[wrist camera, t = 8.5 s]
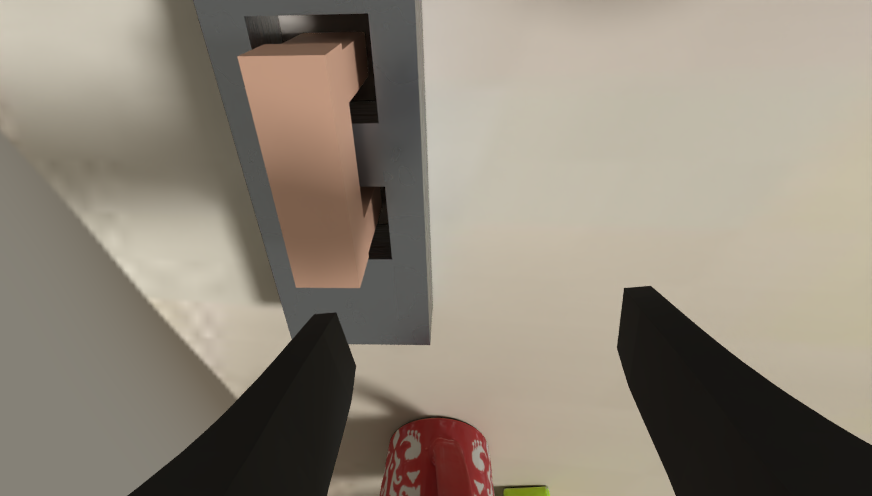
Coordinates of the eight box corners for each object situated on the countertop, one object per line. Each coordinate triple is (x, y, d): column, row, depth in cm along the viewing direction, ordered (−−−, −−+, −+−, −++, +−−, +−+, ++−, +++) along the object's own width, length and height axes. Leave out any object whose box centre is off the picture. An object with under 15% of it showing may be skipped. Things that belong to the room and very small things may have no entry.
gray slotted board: (414, -193, 13) (404, -229, 11) (432, 305, 24) (430, 345, 22) (190, -184, 14) (130, -216, 11) (309, 304, 25) (293, 343, 22)
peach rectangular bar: (364, 26, 17) (325, 55, 12) (382, 210, 21) (359, 288, 16) (302, 27, 17) (237, 56, 12) (333, 210, 21) (296, 287, 16)
